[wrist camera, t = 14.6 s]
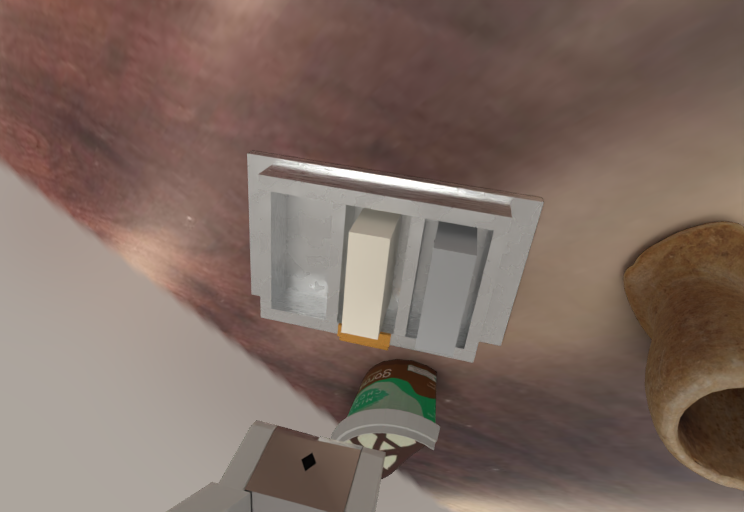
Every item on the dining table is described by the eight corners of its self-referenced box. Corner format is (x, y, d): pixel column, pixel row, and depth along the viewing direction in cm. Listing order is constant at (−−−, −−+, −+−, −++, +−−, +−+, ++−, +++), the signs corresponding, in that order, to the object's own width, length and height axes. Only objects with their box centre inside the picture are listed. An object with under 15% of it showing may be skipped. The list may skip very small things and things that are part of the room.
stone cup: (577, 272, 38) (627, 405, 25) (735, 193, 33) (902, 310, 20) (662, 395, 42) (744, 567, 29) (816, 342, 37) (1001, 522, 24)
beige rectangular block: (402, 208, 37) (390, 238, 32) (390, 299, 42) (377, 339, 37) (367, 201, 38) (348, 231, 33) (358, 293, 42) (341, 332, 37)
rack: (542, 197, 36) (550, 221, 32) (498, 344, 43) (500, 379, 39) (252, 150, 39) (225, 166, 35) (256, 293, 46) (233, 321, 42)
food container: (397, 327, 44) (376, 403, 36) (446, 363, 45) (438, 446, 36) (329, 393, 50) (297, 472, 42) (374, 424, 51) (352, 508, 42)
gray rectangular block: (477, 221, 37) (476, 256, 31) (456, 313, 41) (452, 356, 36) (439, 215, 37) (433, 247, 32) (422, 306, 41) (414, 348, 36)
